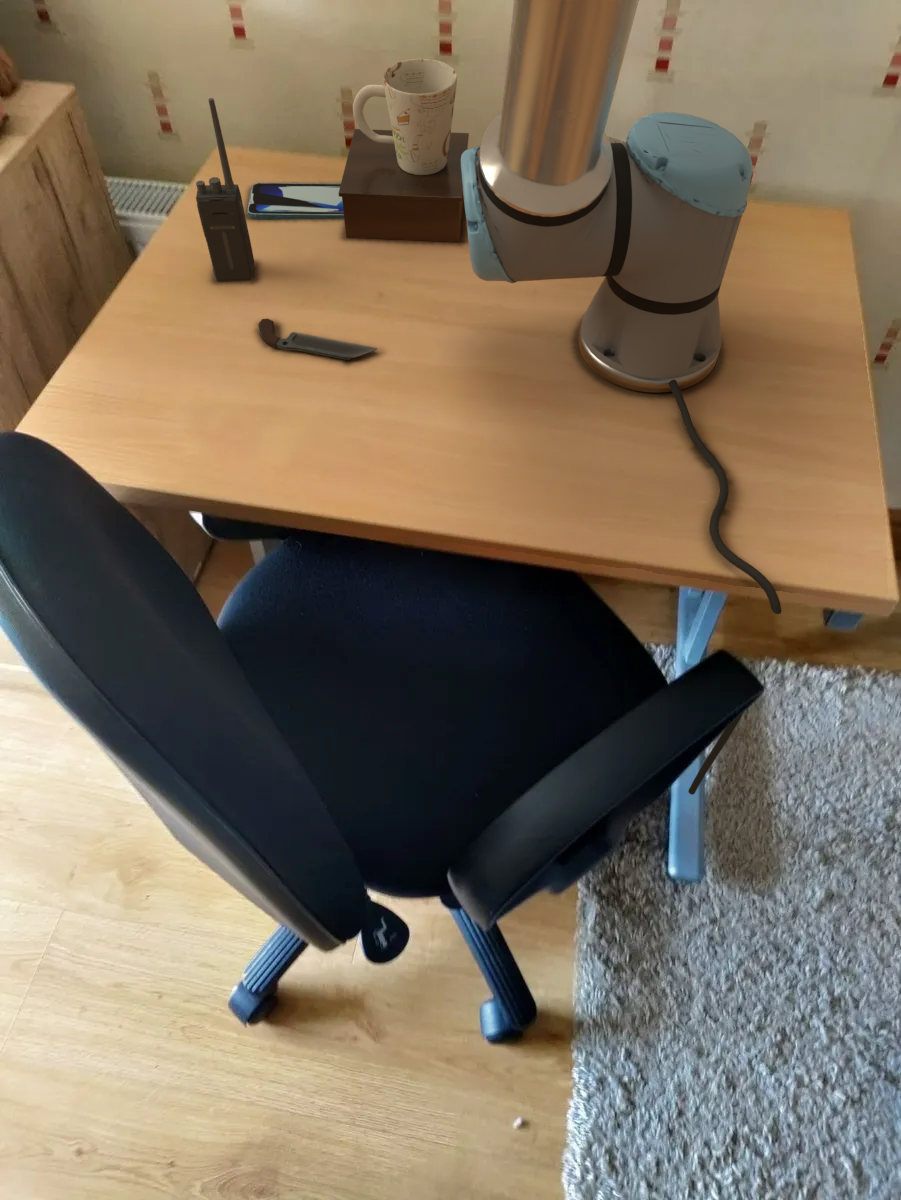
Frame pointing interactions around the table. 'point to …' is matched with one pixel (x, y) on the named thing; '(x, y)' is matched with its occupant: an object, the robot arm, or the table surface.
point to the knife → (312, 343)
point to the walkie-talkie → (225, 219)
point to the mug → (415, 112)
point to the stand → (401, 193)
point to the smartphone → (295, 201)
